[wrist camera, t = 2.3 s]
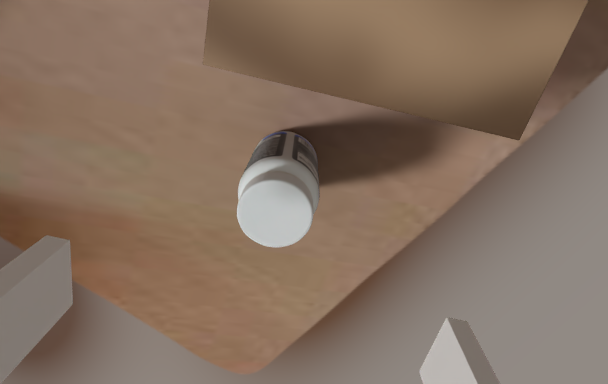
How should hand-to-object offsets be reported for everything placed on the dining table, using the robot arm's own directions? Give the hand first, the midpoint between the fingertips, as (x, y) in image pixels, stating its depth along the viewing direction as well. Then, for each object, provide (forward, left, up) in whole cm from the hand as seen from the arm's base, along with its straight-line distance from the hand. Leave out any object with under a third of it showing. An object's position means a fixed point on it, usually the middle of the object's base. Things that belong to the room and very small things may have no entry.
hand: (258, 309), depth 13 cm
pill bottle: (0, 0, -15) cm, 15 cm away
